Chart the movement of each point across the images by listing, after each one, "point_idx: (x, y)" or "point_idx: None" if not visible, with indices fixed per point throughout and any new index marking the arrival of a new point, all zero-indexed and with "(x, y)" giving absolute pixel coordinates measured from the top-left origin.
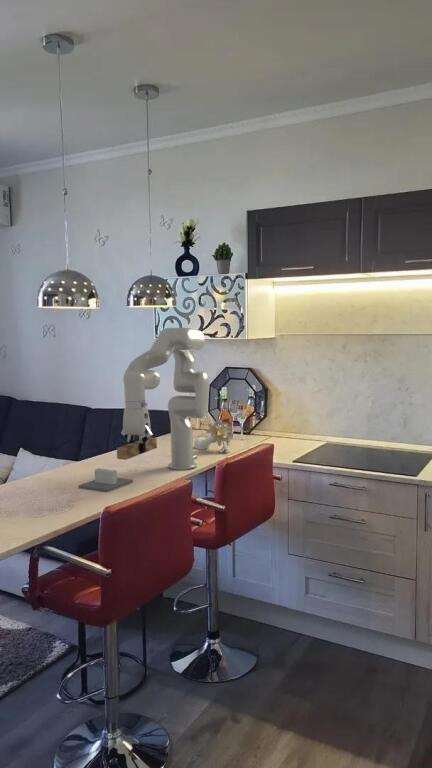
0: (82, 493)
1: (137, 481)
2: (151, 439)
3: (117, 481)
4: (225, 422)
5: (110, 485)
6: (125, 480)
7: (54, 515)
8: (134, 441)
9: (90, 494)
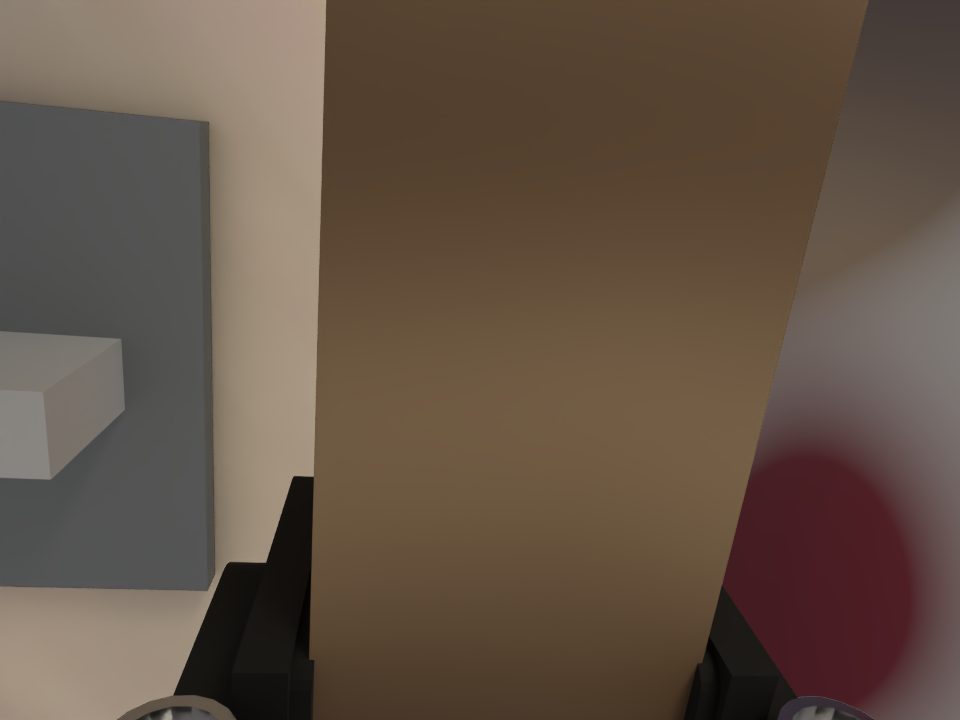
0: (20, 690)
1: (238, 56)
2: (809, 71)
3: (70, 271)
4: None
5: (127, 453)
6: (132, 188)
7: None
8: (302, 705)
9: (121, 686)
